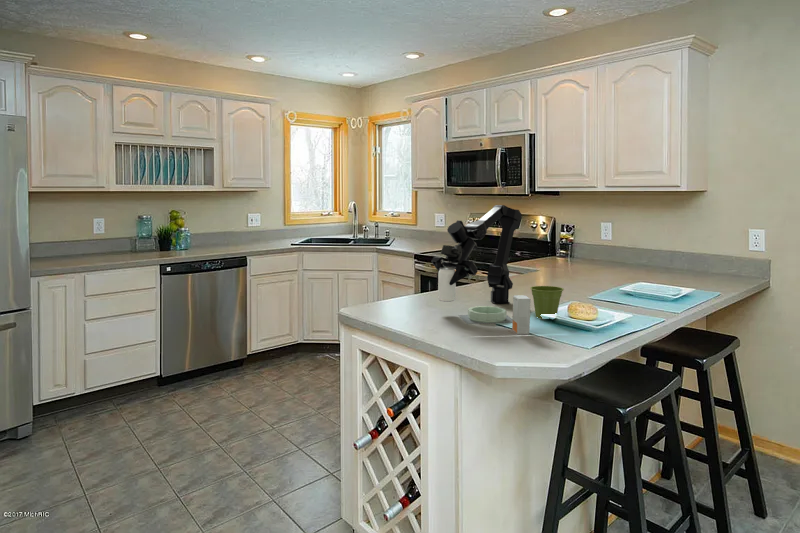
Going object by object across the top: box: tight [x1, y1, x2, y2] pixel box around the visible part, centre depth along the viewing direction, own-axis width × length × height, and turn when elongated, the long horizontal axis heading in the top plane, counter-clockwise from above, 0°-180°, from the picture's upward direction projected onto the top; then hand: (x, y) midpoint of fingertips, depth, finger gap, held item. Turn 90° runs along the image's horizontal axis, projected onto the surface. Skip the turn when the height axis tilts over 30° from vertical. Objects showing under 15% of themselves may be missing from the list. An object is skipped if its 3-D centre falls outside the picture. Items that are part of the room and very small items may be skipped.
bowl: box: [467, 305, 507, 324], centre depth 199 cm, size 13×13×3 cm
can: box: [437, 267, 457, 303], centre depth 205 cm, size 6×6×12 cm
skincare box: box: [511, 294, 532, 336], centre depth 181 cm, size 6×4×12 cm
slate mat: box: [458, 314, 513, 325], centre depth 199 cm, size 18×14×1 cm
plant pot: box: [529, 285, 565, 320], centre depth 201 cm, size 12×12×11 cm
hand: (443, 283), depth 204 cm, fingers closed on can, 6 cm apart
